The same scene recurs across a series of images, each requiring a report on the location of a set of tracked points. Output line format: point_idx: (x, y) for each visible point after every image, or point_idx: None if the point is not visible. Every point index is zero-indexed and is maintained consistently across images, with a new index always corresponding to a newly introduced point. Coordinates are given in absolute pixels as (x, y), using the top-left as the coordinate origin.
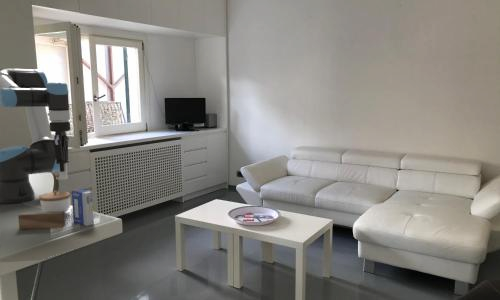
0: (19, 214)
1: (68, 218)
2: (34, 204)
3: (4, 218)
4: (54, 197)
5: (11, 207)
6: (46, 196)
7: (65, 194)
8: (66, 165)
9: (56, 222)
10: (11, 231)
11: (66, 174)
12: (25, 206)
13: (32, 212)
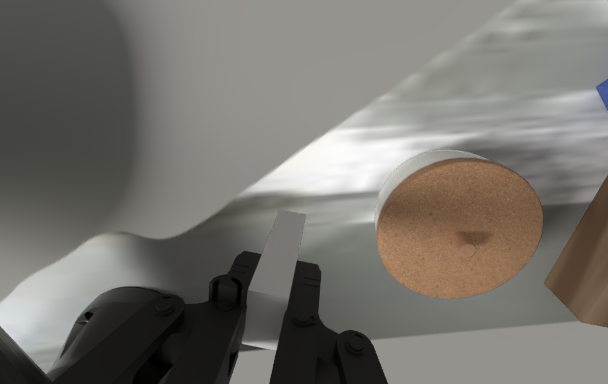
0: (605, 326)
1: (524, 141)
2: None
3: (396, 337)
4: (532, 236)
5: None
6: (486, 273)
7: (492, 187)
8: (267, 275)
9: None
10: None
11: (299, 232)
12: None
13: (605, 289)
